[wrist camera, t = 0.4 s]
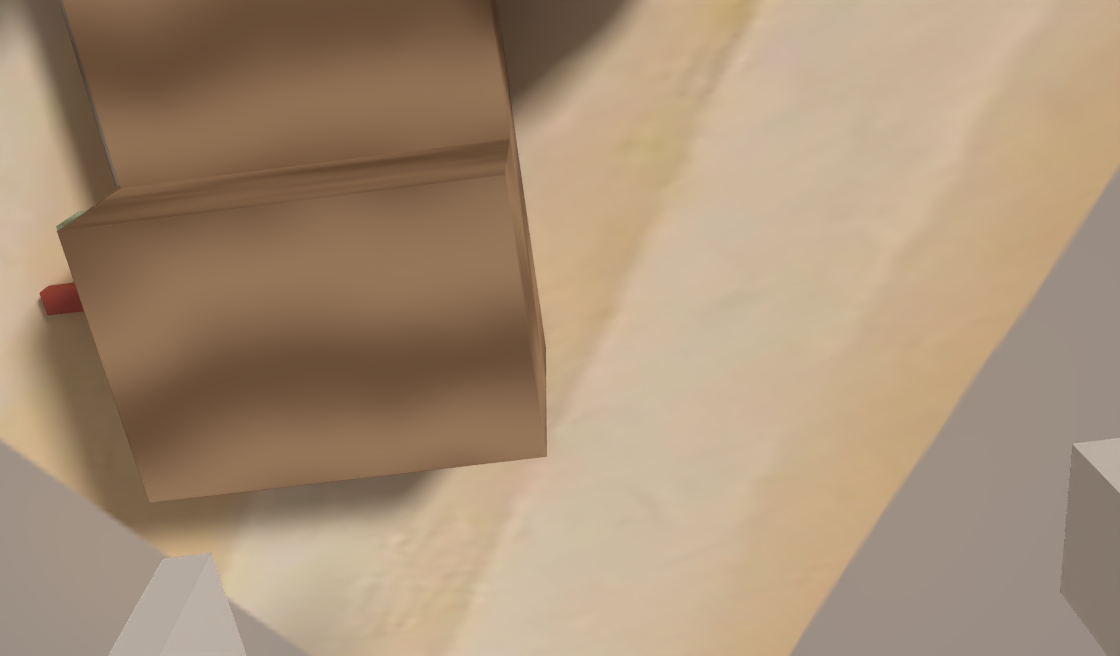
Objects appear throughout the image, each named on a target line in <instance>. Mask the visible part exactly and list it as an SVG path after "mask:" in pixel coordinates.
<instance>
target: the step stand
mask: <svg viewBox="0 0 1120 656" xmlns="http://www.w3.org/2000/svg"><path fill="white" fill-rule="evenodd" d="M59 3H60V6H61V9H62V13H63V16H64V19H65V22H66V25H67V29H68V32H69V35H70V38H71V42H72V45H73V48H74V51H75V54H76V58H77V61H78V64H79V67H80V71H81V74H82V77H83V80H84V84H85V87H86V90H87V93H88V96H89V100H90V103H91V106H92V109H93V113H94V116H95V119H96V122H97V126H98V129H99V132H100V135H101V138H102V142H103V145H104V148H105V151H106V155H107V158H108V161H109V164H110V167H111V171H112V174H113V177H114V180H115V184H116V186H120V189H118V190H117V191H115V192H114V193H112V194H111V195H109V196H108V197H106V198H105V199H104V200H102V201H101V202H99V203H98V204H96V205H95V206H93V207H92V208H90V209H89V210H87V211H81V212H77V213H76V214H74V215H73V216H71V217H70V218H68V219H67V220H65V221H64V222H62V223H61V224H59V225H58V226H56V227H57V230H58V231H57V233H58V236H59V239H60V241H61V244H62V247H63V250H64V253H65V256H66V259H67V262H68V265H69V268H70V271H71V274H72V277H73V280H74V283H67V284H59V285H51V286H48V287H46V288H45V289H44V290H43V291H41V292H40V296H41V299H42V301H43V304H44V307H45V310H46V313H47V315H55V314H63V313H71V312H80V311H84V312H85V315H86V318H87V321H88V324H89V327H90V330H91V333H92V335H93V338H94V341H95V344H96V347H97V350H98V353H99V356H100V359H101V362H102V365H103V368H104V371H105V374H106V377H107V380H108V382H109V385H110V388H111V391H112V394H113V397H114V400H115V403H116V406H117V409H118V412H119V415H120V418H121V421H122V424H123V427H124V429H125V432H126V435H127V438H128V441H129V444H130V447H131V450H132V453H133V456H134V459H135V462H136V465H137V468H138V471H139V474H140V476H141V479H142V482H143V485H144V488H145V491H146V494H147V497H148V500H149V503H152V502H160V501H169V500H177V499H186V498H195V497H203V496H212V495H221V494H229V493H238V492H246V491H255V490H264V489H272V488H281V487H289V486H298V485H307V484H315V483H324V482H332V481H341V480H350V479H358V478H367V477H375V476H384V475H393V474H401V473H410V472H418V471H427V470H436V469H444V468H453V467H462V466H470V465H479V464H487V463H496V462H505V461H513V460H522V459H530V458H539V457H547V426H546V346H545V339H544V332H543V325H542V318H541V311H540V304H539V297H538V290H537V283H536V276H535V269H534V262H533V255H532V248H531V241H530V234H529V227H528V220H527V213H526V206H525V199H524V192H523V185H522V178H521V171H520V164H519V157H518V150H517V143H516V136H515V129H514V122H513V115H512V108H511V101H510V94H509V87H508V80H507V73H506V66H505V58H504V51H503V44H502V37H501V30H500V23H499V16H498V9H497V2H496V0H59Z"/></svg>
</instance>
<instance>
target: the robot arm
mask: <svg viewBox="0 0 1120 656" xmlns="http://www.w3.org/2000/svg"><path fill="white" fill-rule="evenodd" d="M1060 592H1061V593H1062V595H1063V596H1064V597H1065V599H1066V600H1067V602H1068V603H1069V604H1070V606H1071V607H1072V608H1073V610H1074V611H1075V612H1076V613H1077V615H1078V616H1079V618H1080V619H1081V620H1082V622H1083V623H1084V624H1085V626H1086V627H1087V629H1088V630H1089V631H1090V633H1091V634H1092V635H1093V637H1094V638H1095V639H1096V641H1097V642H1098V643H1099V645H1100V646H1101V648H1102V649H1103V650H1104V652H1105V653H1106V654H1107V656H1120V438H1115V439H1108V440H1100V441H1092V442H1084V443H1076V444H1072V455H1071V467H1070V479H1069V491H1068V503H1067V515H1066V527H1065V539H1064V551H1063V564H1062V576H1061V588H1060ZM108 656H246V653H245V650H244V647H243V644H242V641H241V638H240V635H239V632H238V630H237V627H236V624H235V621H234V618H233V615H232V612H231V609H230V606H229V603H228V600H227V597H226V595H225V592H224V589H223V586H222V583H221V580H220V577H219V574H218V571H217V568H216V565H215V562H214V560H213V557H212V554H211V553H207V554H199V555H191V556H183V557H175V558H167V559H163V560H162V561H161V563H160V565H159V567H158V568H157V570H156V572H155V574H154V575H153V578H152V579H151V581H150V583H149V585H148V586H147V588H146V590H145V591H144V593H143V595H142V597H141V598H140V600H139V602H138V604H137V606H136V608H135V609H134V611H133V613H132V614H131V616H130V618H129V620H128V621H127V623H126V625H125V627H124V629H123V630H122V632H121V634H120V636H119V638H118V639H117V641H116V643H115V644H114V646H113V648H112V650H111V652H110V653H109V655H108Z"/></svg>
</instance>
